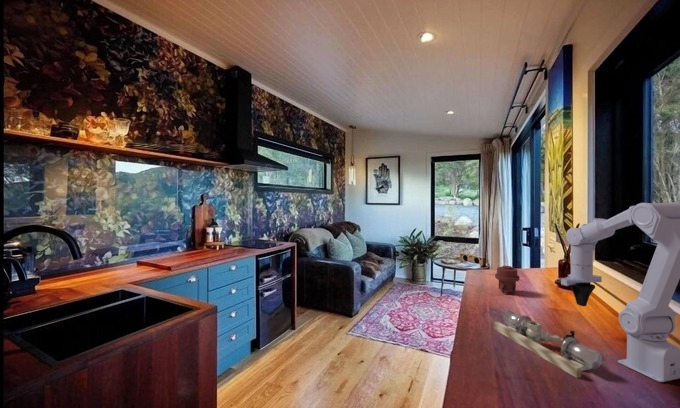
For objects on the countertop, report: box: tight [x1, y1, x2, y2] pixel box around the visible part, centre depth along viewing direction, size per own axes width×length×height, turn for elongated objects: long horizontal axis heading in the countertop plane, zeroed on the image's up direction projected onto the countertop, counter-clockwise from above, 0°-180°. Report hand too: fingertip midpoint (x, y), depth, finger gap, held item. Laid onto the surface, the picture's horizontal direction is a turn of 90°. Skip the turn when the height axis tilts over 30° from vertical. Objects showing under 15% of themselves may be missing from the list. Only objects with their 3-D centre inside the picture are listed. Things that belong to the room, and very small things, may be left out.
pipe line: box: [502, 310, 603, 372], centre depth 92 cm, size 29×6×6 cm, turn 13°
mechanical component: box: [494, 265, 521, 295], centre depth 142 cm, size 12×10×10 cm
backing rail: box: [493, 321, 582, 379], centre depth 91 cm, size 29×2×2 cm, turn 13°
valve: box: [525, 320, 576, 346], centre depth 92 cm, size 7×7×12 cm
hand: (581, 305), depth 100 cm, fingers closed
